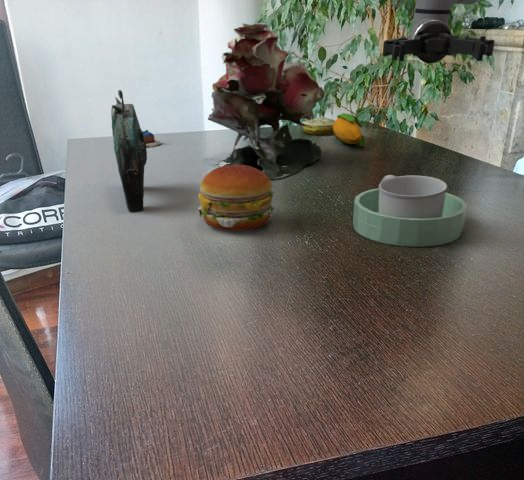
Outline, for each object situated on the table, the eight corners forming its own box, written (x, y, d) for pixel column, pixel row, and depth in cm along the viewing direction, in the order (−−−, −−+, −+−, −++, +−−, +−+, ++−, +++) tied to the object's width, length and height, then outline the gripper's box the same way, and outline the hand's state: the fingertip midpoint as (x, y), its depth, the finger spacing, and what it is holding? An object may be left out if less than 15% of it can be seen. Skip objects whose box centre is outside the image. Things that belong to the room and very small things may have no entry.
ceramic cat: (120, 185, 124) (106, 85, 114) (150, 183, 125) (139, 84, 115) (120, 214, 107) (103, 99, 97) (154, 211, 109) (141, 97, 98)
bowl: (457, 213, 106) (461, 189, 103) (467, 250, 90) (472, 222, 88) (356, 208, 109) (358, 184, 107) (349, 242, 94) (350, 216, 91)
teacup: (451, 239, 93) (459, 190, 89) (387, 244, 91) (393, 194, 87) (417, 212, 105) (423, 168, 101) (360, 216, 103) (364, 171, 99)
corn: (354, 108, 162) (373, 120, 145) (354, 136, 166) (373, 151, 149) (328, 110, 162) (345, 123, 145) (329, 138, 166) (345, 154, 149)
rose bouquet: (331, 154, 147) (337, 20, 131) (281, 182, 125) (282, 25, 109) (244, 145, 157) (240, 20, 141) (184, 170, 135) (172, 24, 119)
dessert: (125, 143, 157) (131, 123, 157) (136, 153, 164) (141, 134, 164) (151, 147, 155) (156, 127, 155) (161, 157, 162) (166, 137, 162)
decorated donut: (343, 131, 173) (344, 118, 171) (325, 137, 165) (326, 123, 163) (314, 127, 178) (315, 115, 176) (295, 133, 171) (296, 120, 169)
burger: (266, 238, 96) (266, 178, 91) (189, 233, 98) (184, 175, 93) (279, 213, 107) (279, 158, 102) (209, 209, 109) (206, 155, 104)
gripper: (490, 61, 119) (510, 76, 101) (369, 61, 122) (368, 75, 105) (498, 19, 115) (520, 27, 97) (372, 21, 118) (372, 29, 101)
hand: (441, 52), depth 101 cm, fingers open, 13 cm apart
